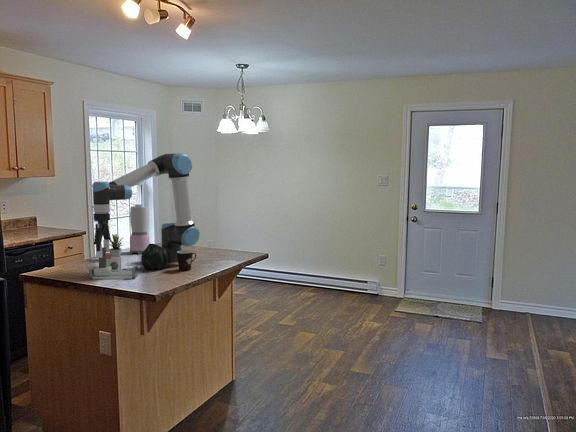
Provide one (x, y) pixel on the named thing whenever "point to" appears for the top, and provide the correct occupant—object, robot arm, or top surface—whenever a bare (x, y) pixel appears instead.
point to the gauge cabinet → (114, 263)
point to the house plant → (115, 246)
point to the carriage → (102, 265)
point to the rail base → (115, 274)
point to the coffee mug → (185, 260)
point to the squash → (154, 257)
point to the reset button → (108, 255)
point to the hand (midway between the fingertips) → (103, 254)
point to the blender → (139, 228)
